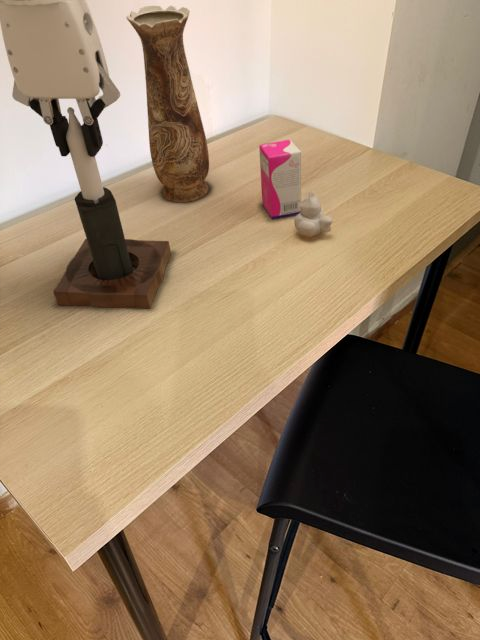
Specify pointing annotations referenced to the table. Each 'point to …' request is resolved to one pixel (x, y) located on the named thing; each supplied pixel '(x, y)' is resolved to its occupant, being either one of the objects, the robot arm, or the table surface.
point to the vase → (172, 104)
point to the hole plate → (119, 292)
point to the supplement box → (280, 178)
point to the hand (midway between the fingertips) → (81, 150)
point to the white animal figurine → (312, 217)
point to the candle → (97, 210)
